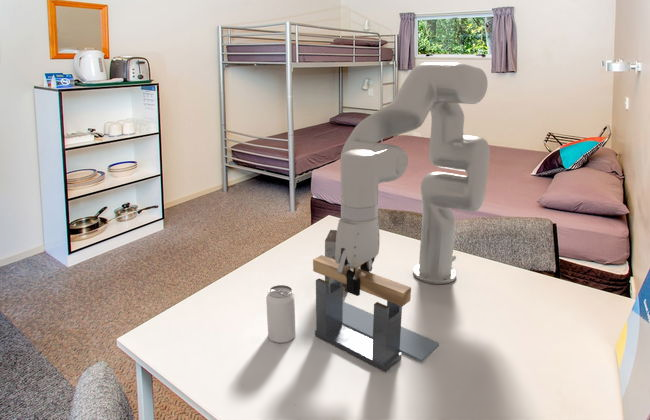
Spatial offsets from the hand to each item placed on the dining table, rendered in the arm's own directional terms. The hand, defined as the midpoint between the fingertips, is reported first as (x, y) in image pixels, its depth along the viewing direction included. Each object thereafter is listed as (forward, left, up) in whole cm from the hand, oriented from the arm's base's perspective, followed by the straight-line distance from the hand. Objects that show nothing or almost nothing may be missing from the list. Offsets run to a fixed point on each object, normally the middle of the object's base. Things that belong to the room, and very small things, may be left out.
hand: (358, 289), depth 98 cm
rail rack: (0, 0, -15) cm, 15 cm away
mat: (-9, 0, -15) cm, 17 cm away
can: (+8, -16, -15) cm, 23 cm away
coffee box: (-19, -21, -15) cm, 32 cm away
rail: (0, 0, +1) cm, 1 cm away
